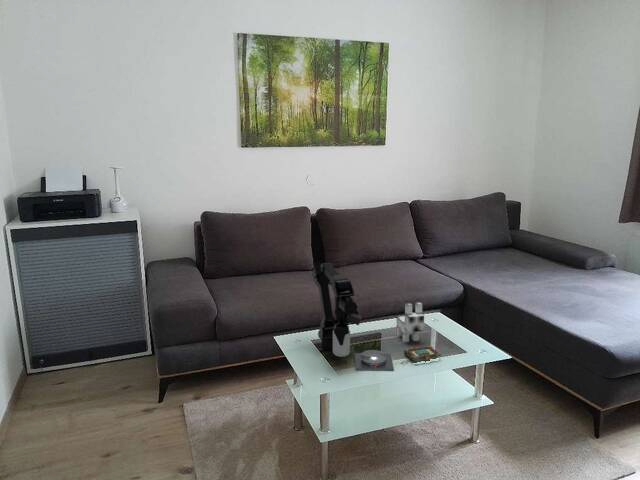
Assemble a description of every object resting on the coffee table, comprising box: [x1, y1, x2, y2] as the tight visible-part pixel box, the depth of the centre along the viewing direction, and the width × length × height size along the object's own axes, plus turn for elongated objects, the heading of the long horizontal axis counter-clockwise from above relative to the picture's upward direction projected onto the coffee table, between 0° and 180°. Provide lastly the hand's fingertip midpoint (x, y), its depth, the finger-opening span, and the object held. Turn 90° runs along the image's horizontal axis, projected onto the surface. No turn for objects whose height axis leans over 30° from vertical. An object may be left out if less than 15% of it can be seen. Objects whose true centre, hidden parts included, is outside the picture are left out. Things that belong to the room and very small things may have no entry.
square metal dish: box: [354, 349, 395, 372], centre depth 211 cm, size 16×15×4 cm
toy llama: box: [396, 301, 425, 344], centre depth 234 cm, size 8×18×20 cm, turn 13°
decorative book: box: [399, 345, 442, 365], centre depth 213 cm, size 13×18×5 cm
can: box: [332, 329, 351, 358], centre depth 210 cm, size 8×8×12 cm
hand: (341, 341), depth 210 cm, fingers closed on can, 7 cm apart
